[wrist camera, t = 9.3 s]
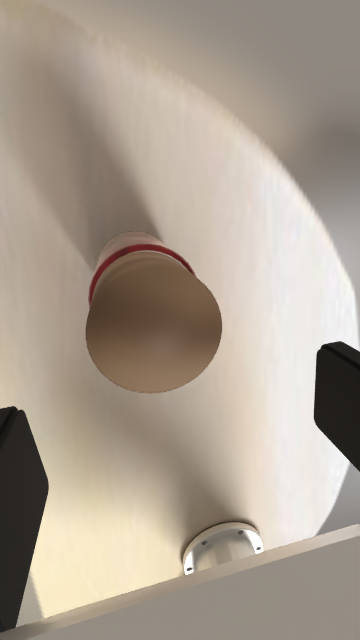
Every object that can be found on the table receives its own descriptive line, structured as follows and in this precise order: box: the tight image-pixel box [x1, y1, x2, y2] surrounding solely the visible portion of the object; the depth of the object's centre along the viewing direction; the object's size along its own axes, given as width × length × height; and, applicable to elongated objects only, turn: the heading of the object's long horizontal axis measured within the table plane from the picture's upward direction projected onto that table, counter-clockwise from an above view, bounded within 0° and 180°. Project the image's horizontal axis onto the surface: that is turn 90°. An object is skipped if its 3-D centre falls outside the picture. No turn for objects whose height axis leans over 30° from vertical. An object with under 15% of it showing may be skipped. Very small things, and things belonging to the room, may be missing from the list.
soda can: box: [88, 231, 197, 309], centre depth 25 cm, size 7×7×12 cm
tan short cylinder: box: [86, 251, 222, 393], centre depth 17 cm, size 7×7×5 cm
